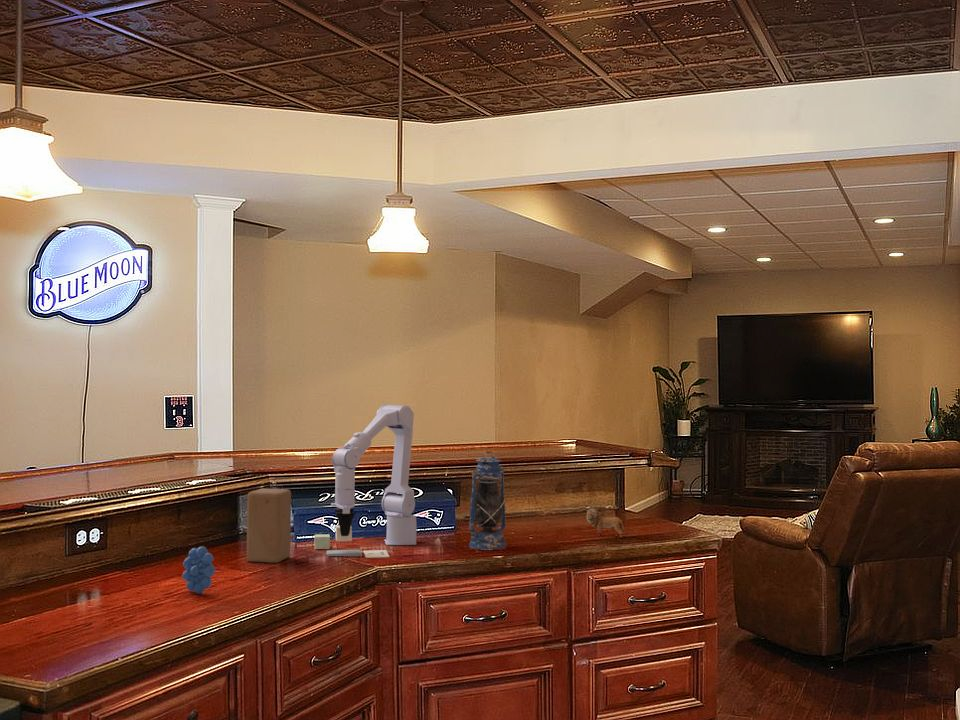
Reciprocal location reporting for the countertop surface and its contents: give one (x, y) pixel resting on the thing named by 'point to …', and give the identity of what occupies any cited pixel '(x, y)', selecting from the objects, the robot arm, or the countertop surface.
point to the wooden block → (268, 525)
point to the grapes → (198, 570)
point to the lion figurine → (604, 521)
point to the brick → (343, 538)
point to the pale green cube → (322, 541)
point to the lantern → (487, 505)
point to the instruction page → (376, 554)
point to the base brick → (344, 553)
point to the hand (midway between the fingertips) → (344, 534)
